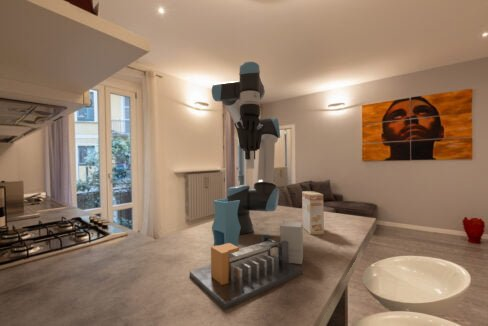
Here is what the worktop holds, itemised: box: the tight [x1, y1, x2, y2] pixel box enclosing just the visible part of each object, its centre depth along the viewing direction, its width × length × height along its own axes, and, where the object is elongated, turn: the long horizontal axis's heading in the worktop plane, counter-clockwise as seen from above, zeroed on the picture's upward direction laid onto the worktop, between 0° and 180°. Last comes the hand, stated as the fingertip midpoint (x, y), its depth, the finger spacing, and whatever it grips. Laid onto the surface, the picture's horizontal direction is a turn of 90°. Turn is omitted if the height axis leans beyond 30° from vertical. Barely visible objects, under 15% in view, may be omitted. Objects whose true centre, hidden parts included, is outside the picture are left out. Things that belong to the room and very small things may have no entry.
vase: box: [211, 198, 241, 247], centre depth 85 cm, size 8×8×20 cm
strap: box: [228, 238, 279, 262], centre depth 69 cm, size 6×20×2 cm, turn 127°
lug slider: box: [210, 243, 240, 285], centre depth 63 cm, size 6×6×8 cm
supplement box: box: [279, 220, 304, 265], centre depth 78 cm, size 7×7×13 cm
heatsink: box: [189, 234, 303, 311], centre depth 67 cm, size 20×28×8 cm
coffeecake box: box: [301, 190, 325, 236], centre depth 114 cm, size 15×7×20 cm, turn 179°
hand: (250, 168), depth 82 cm, fingers closed
